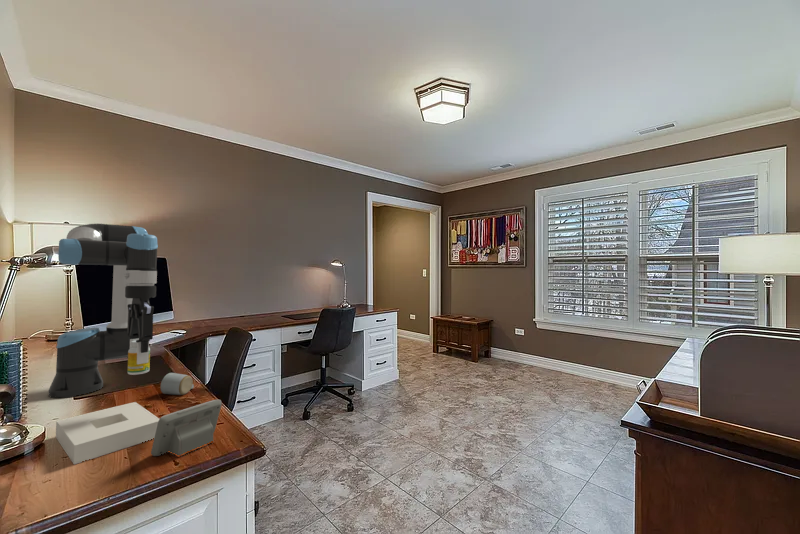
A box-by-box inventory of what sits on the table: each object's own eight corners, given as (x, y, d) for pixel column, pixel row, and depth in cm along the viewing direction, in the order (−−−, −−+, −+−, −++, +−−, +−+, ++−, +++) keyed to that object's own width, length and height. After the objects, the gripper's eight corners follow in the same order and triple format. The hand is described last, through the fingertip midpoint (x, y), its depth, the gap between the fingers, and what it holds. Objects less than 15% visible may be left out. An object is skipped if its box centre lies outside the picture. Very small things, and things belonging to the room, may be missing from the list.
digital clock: (214, 431, 100) (215, 394, 100) (227, 441, 94) (228, 402, 94) (147, 452, 88) (148, 410, 88) (156, 465, 82) (157, 420, 82)
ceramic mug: (180, 397, 125) (181, 376, 126) (159, 396, 126) (160, 375, 126) (199, 388, 136) (200, 369, 136) (180, 387, 137) (181, 368, 137)
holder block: (55, 437, 95) (56, 420, 95) (134, 416, 109) (135, 401, 109) (74, 464, 81) (74, 445, 82) (161, 436, 96) (161, 420, 96)
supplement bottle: (129, 371, 104) (130, 339, 105) (151, 369, 107) (152, 338, 107) (125, 376, 100) (126, 343, 100) (147, 373, 102) (148, 341, 102)
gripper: (115, 284, 106) (113, 359, 105) (137, 286, 95) (135, 369, 95) (144, 283, 112) (142, 354, 112) (167, 285, 102) (165, 364, 101)
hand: (138, 361), depth 103 cm, fingers closed on supplement bottle, 5 cm apart
